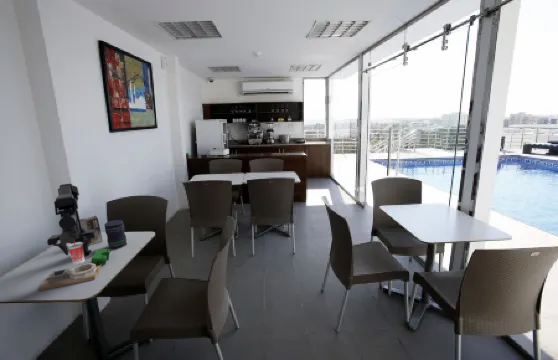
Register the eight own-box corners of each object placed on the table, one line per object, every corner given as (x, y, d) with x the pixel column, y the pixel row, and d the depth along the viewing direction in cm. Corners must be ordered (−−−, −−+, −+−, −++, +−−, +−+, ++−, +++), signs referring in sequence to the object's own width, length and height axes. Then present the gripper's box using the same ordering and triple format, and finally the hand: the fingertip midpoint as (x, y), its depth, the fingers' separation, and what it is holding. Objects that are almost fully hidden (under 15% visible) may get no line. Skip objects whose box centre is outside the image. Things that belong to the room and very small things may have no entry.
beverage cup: (88, 260, 133) (83, 233, 130) (74, 266, 128) (68, 238, 125) (83, 257, 136) (77, 231, 134) (68, 263, 131) (62, 236, 128)
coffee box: (101, 238, 179) (96, 215, 175) (103, 241, 174) (98, 217, 170) (84, 243, 173) (79, 219, 169) (86, 246, 168) (80, 221, 164)
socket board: (50, 277, 134) (48, 269, 134) (101, 267, 142) (99, 260, 141) (38, 290, 123) (36, 283, 122) (94, 279, 130) (93, 271, 130)
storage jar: (124, 240, 173) (120, 218, 170) (129, 245, 167) (125, 222, 163) (106, 246, 166) (101, 223, 163) (111, 251, 160) (106, 227, 156)
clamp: (104, 272, 145) (103, 261, 140) (91, 272, 143) (90, 260, 138) (111, 255, 154) (110, 243, 150) (98, 254, 152) (98, 243, 148)
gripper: (37, 232, 118) (46, 265, 121) (87, 225, 124) (94, 256, 127) (49, 224, 128) (56, 254, 131) (94, 217, 134) (101, 246, 137)
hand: (77, 253), depth 131 cm, fingers closed on beverage cup, 8 cm apart
